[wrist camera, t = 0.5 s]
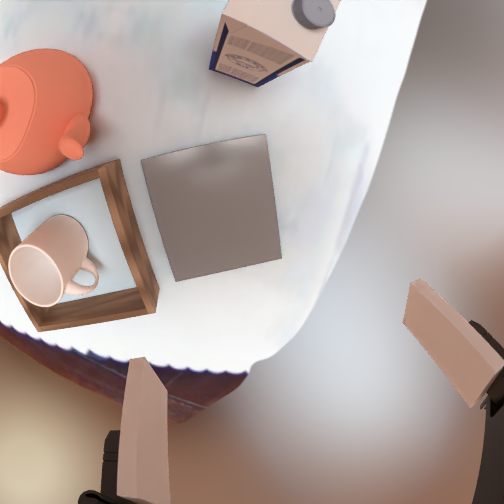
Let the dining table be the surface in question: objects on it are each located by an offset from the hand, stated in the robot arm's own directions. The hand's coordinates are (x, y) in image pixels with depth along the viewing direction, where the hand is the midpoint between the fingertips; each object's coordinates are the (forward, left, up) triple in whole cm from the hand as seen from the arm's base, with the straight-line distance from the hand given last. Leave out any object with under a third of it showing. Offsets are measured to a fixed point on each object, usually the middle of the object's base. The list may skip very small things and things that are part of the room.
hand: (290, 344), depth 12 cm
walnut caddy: (+2, -24, -28) cm, 37 cm away
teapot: (-18, -22, -28) cm, 40 cm away
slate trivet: (+2, -2, -28) cm, 28 cm away
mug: (+2, -24, -28) cm, 37 cm away
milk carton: (-18, +5, -28) cm, 33 cm away
